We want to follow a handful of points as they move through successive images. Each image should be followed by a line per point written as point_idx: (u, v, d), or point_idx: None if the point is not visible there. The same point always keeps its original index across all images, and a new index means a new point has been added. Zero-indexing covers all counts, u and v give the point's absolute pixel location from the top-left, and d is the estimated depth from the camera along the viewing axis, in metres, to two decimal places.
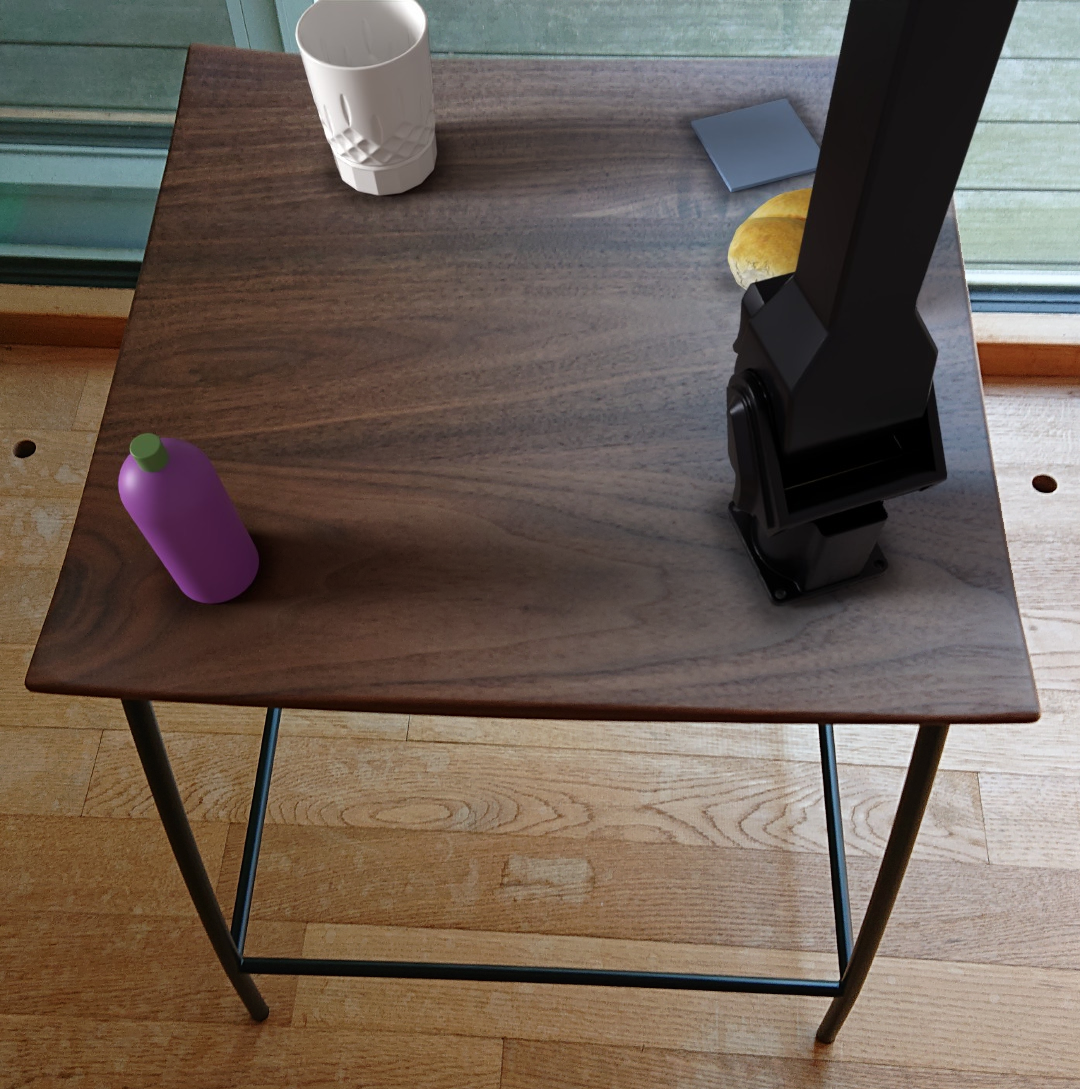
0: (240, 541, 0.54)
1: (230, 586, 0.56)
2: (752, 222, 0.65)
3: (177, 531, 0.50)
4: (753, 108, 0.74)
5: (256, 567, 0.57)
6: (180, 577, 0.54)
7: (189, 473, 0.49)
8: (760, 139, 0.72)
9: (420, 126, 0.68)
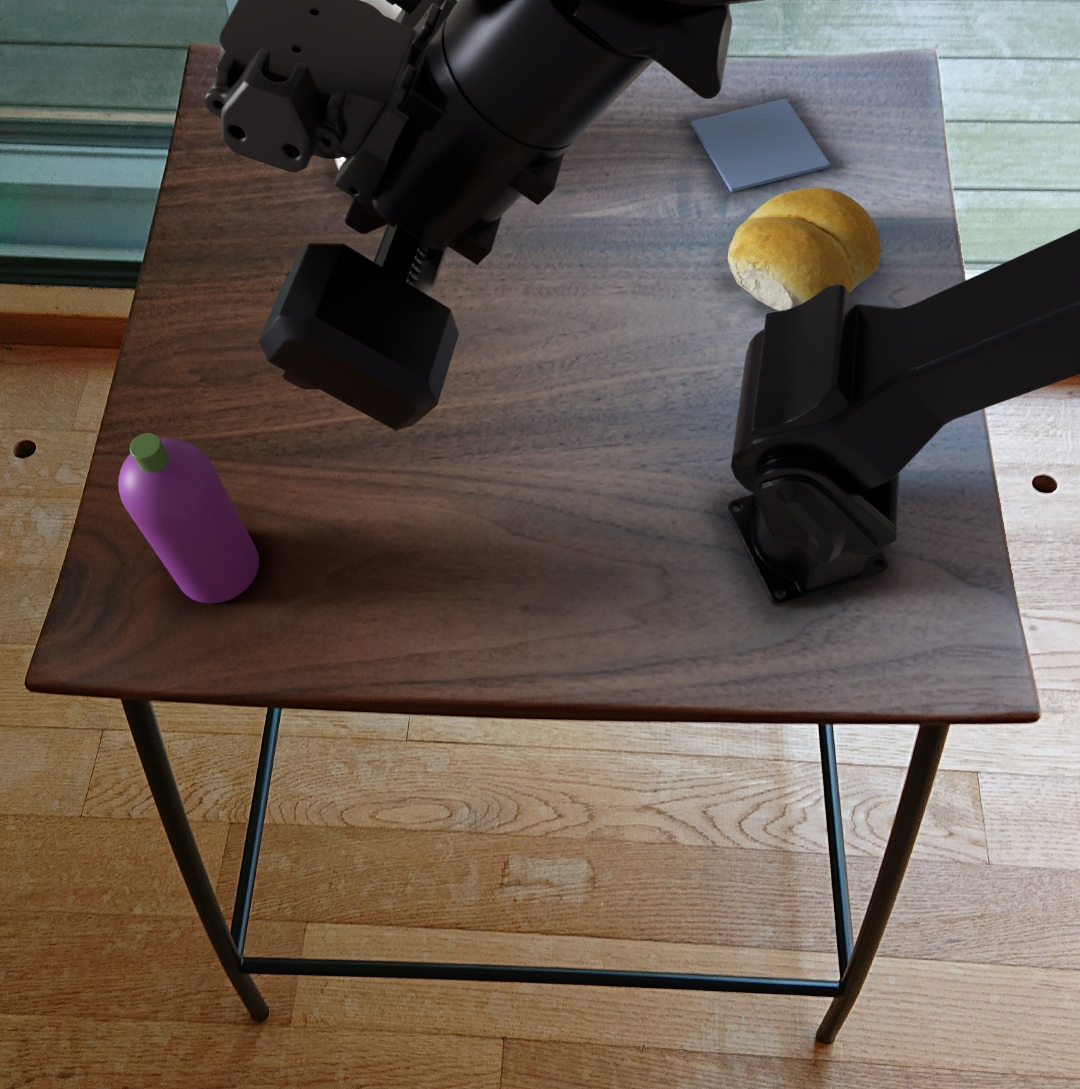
0: (240, 541, 0.54)
1: (230, 586, 0.56)
2: (752, 222, 0.65)
3: (177, 531, 0.50)
4: (753, 108, 0.74)
5: (256, 567, 0.57)
6: (180, 577, 0.54)
7: (189, 473, 0.49)
8: (760, 139, 0.72)
9: None
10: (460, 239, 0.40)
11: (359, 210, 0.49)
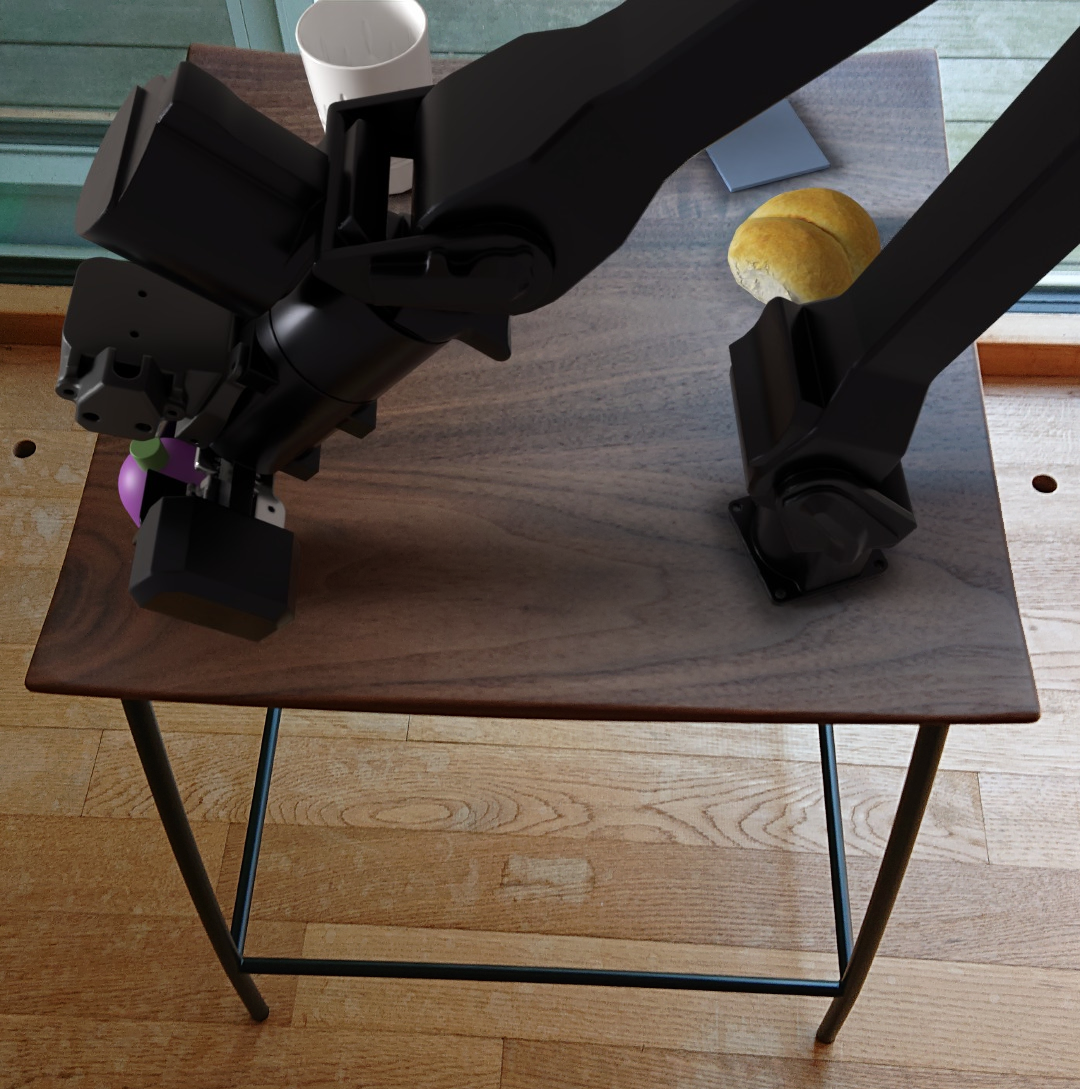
0: None
1: None
2: (752, 222, 0.65)
3: None
4: None
5: None
6: None
7: (189, 473, 0.49)
8: (760, 139, 0.72)
9: None
10: (291, 465, 0.45)
11: None
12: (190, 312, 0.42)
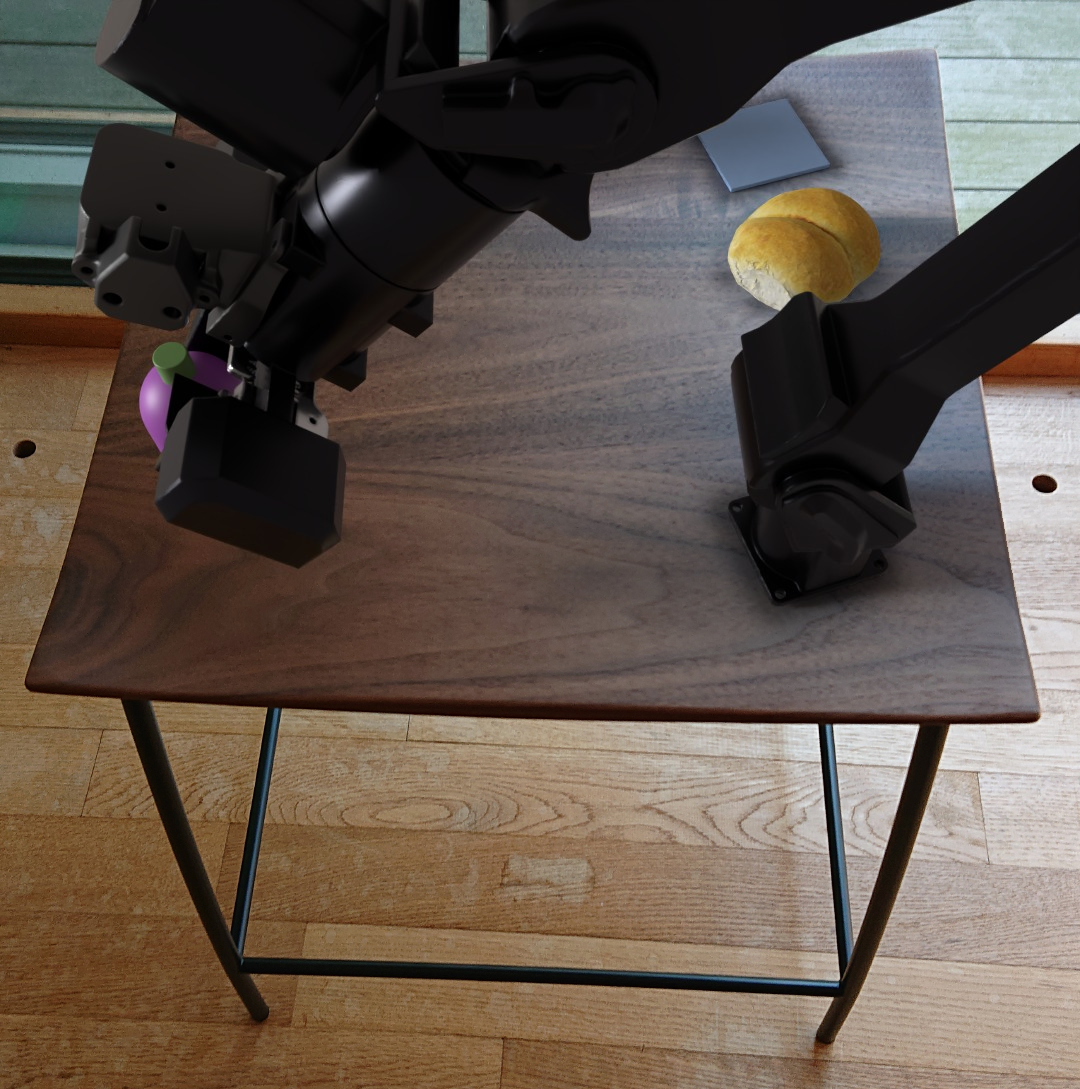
0: None
1: None
2: (752, 222, 0.65)
3: None
4: (753, 108, 0.74)
5: None
6: None
7: (218, 388, 0.44)
8: (760, 139, 0.72)
9: None
10: (335, 371, 0.40)
11: None
12: (224, 187, 0.37)
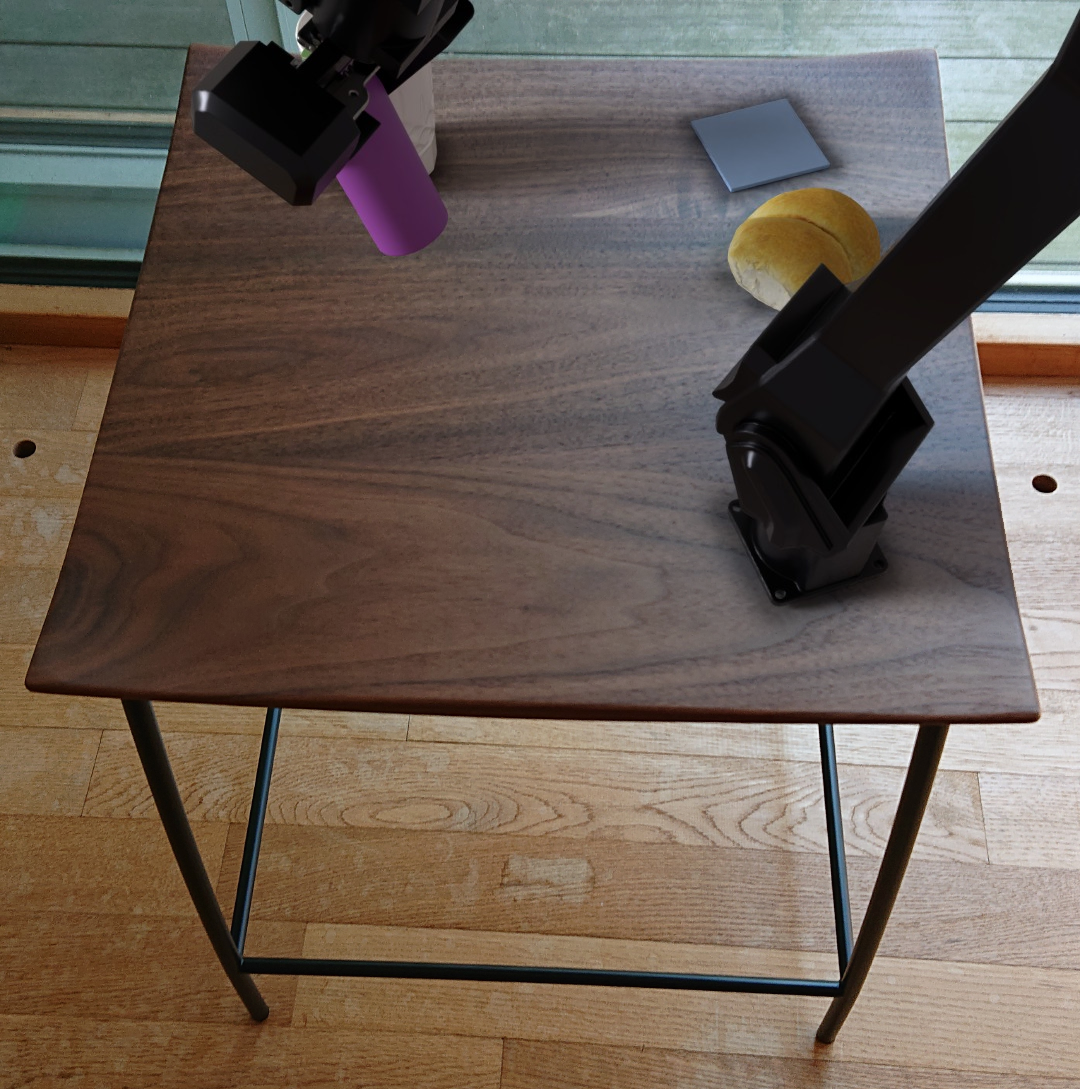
0: (411, 190, 0.57)
1: (401, 238, 0.59)
2: (752, 222, 0.65)
3: None
4: (753, 108, 0.74)
5: (436, 233, 0.59)
6: (359, 214, 0.59)
7: None
8: (760, 139, 0.72)
9: (420, 126, 0.68)
10: (377, 52, 0.47)
11: None
12: None
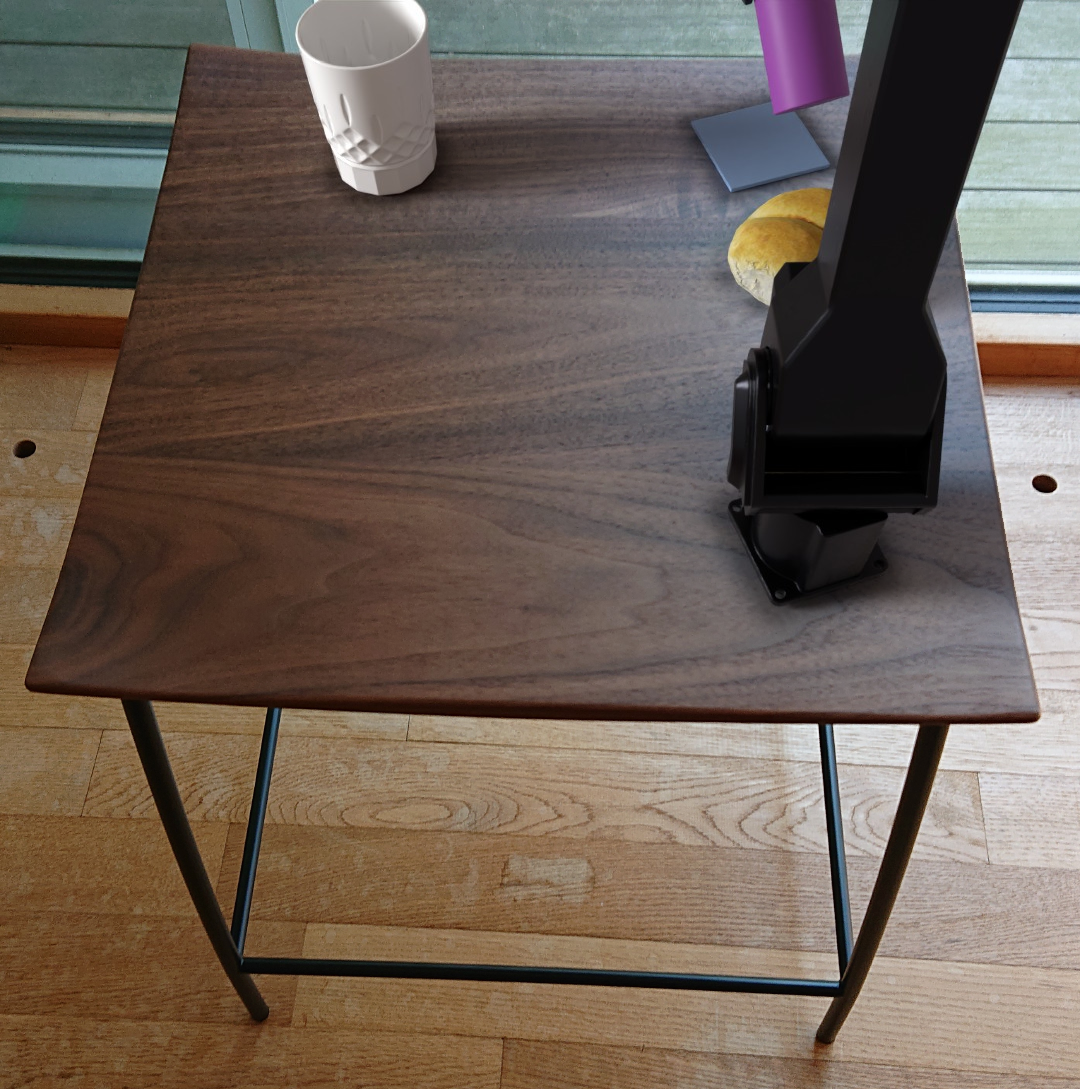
0: (810, 40, 0.61)
1: (787, 88, 0.62)
2: (752, 222, 0.65)
3: None
4: (753, 108, 0.74)
5: (822, 94, 0.61)
6: None
7: None
8: (760, 139, 0.72)
9: (420, 126, 0.68)
10: None
11: None
12: None
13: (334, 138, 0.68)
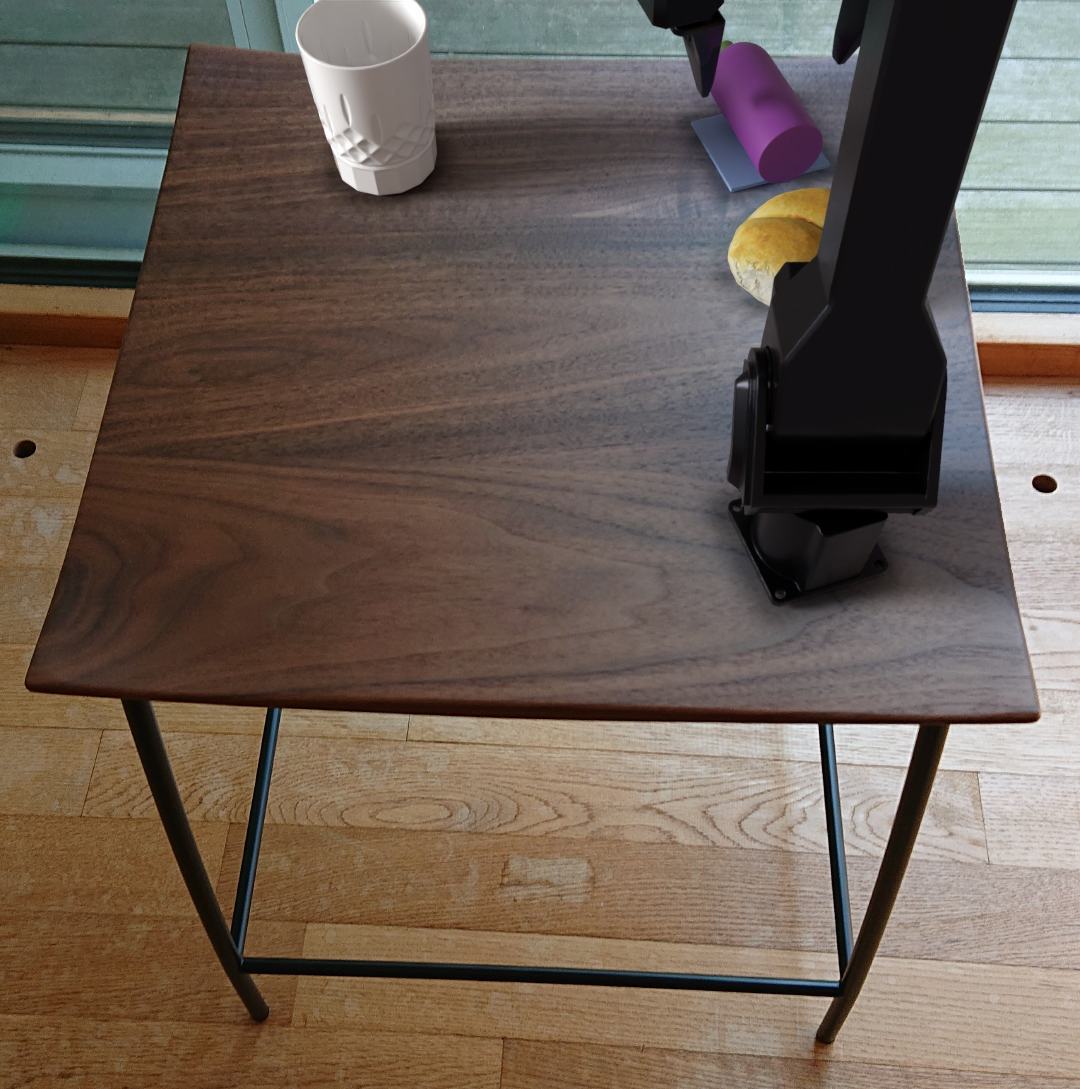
0: (769, 95, 0.68)
1: (759, 134, 0.68)
2: (752, 222, 0.65)
3: (717, 85, 0.71)
4: None
5: (790, 124, 0.67)
6: (742, 145, 0.70)
7: (730, 45, 0.72)
8: None
9: (420, 126, 0.68)
10: None
11: (837, 39, 0.68)
12: None
13: (334, 138, 0.68)
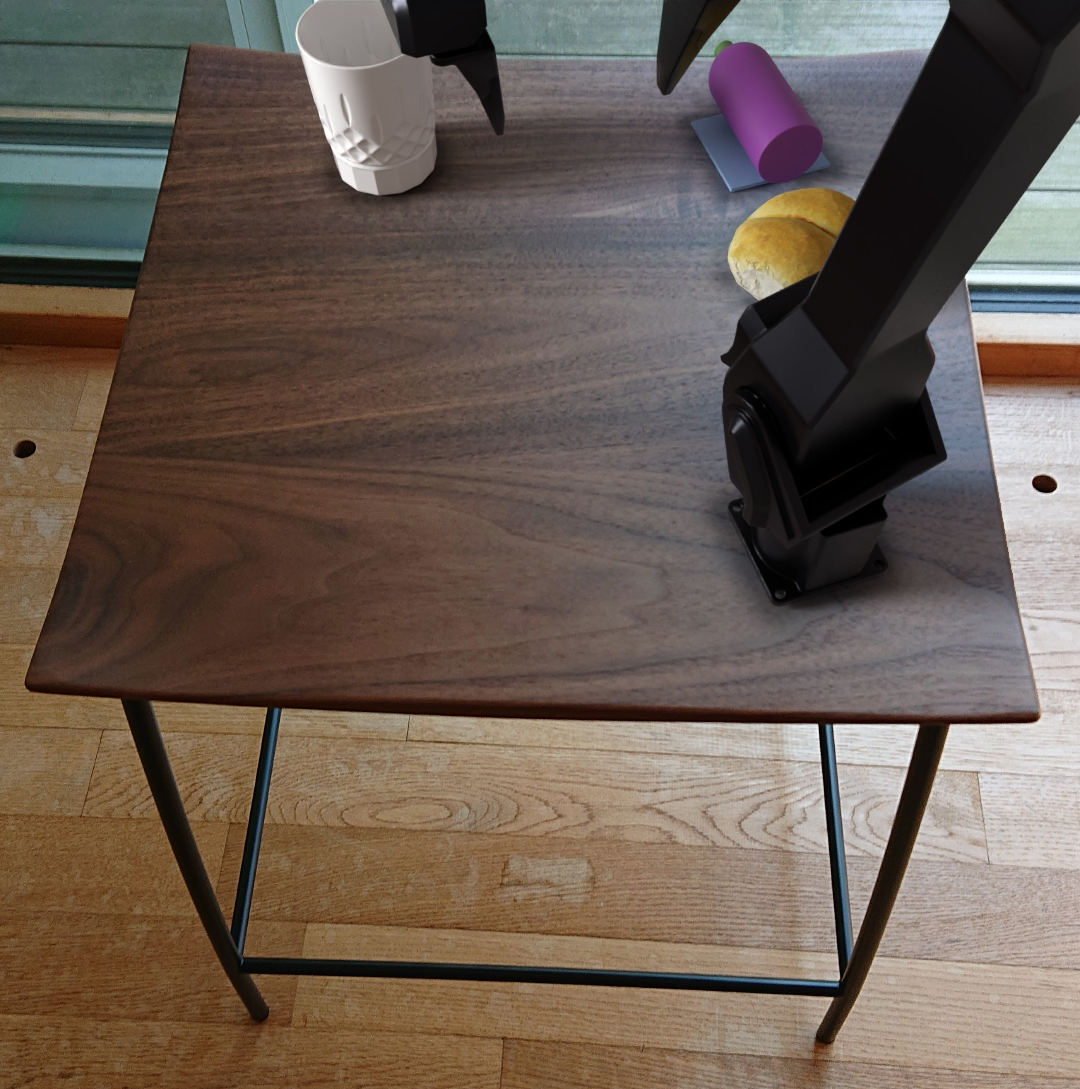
0: (768, 95, 0.68)
1: (759, 134, 0.68)
2: (752, 222, 0.65)
3: (716, 85, 0.71)
4: None
5: (790, 124, 0.67)
6: (742, 145, 0.70)
7: (729, 45, 0.72)
8: None
9: (420, 126, 0.68)
10: None
11: (659, 65, 0.56)
12: None
13: (334, 138, 0.68)
